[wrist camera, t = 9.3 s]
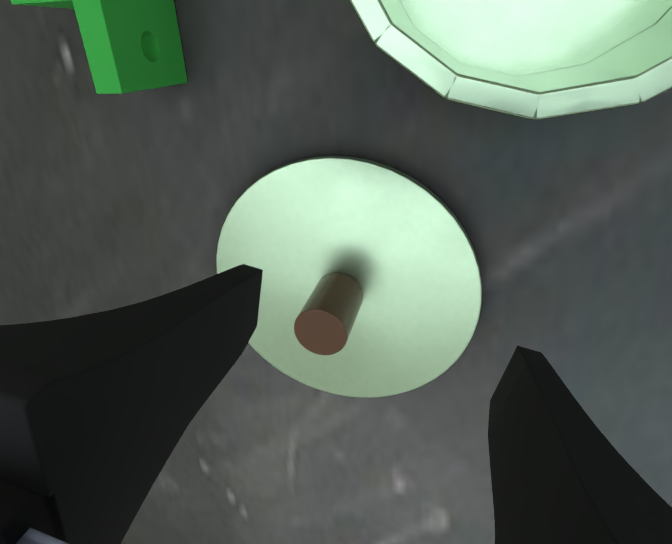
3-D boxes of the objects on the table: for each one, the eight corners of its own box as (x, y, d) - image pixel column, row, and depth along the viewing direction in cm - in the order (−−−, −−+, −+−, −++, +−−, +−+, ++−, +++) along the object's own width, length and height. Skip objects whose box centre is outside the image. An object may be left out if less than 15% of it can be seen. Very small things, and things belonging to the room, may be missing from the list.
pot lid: (527, 195, 18) (543, 237, 15) (433, 413, 25) (428, 481, 21) (233, 120, 20) (179, 139, 16) (219, 342, 27) (178, 393, 23)
